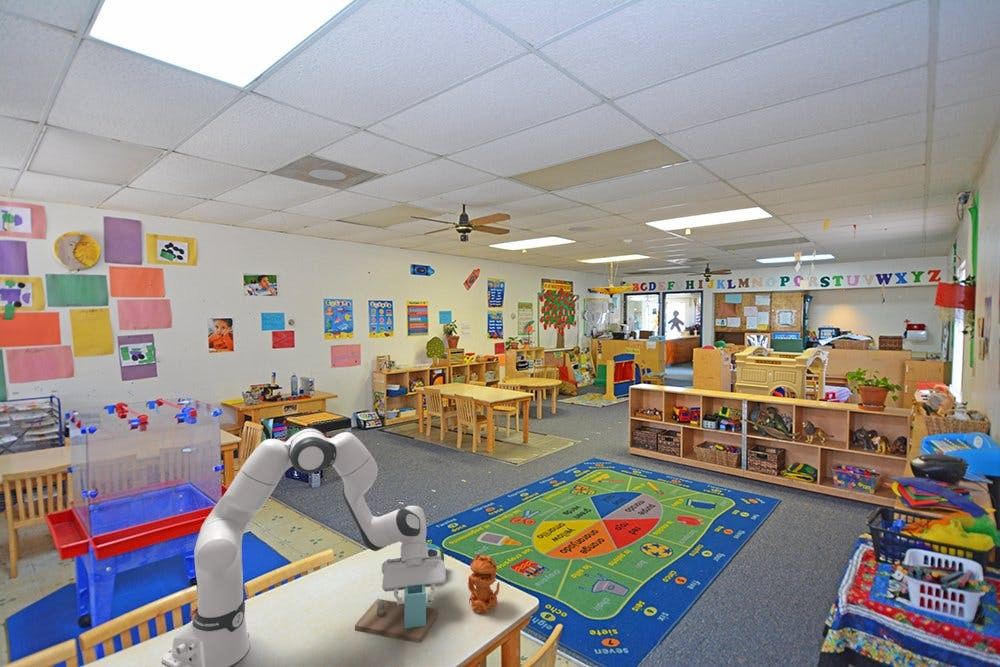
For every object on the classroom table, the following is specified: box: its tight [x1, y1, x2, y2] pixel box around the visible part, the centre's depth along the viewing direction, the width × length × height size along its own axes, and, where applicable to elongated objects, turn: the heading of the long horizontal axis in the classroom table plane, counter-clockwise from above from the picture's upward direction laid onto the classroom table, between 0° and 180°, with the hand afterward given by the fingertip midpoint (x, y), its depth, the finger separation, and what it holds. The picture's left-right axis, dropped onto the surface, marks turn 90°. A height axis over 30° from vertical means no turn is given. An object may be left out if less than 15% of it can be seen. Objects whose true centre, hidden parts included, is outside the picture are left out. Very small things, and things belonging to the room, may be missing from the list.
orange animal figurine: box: [467, 554, 500, 613], centre depth 154 cm, size 11×11×18 cm
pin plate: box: [354, 598, 439, 644], centre depth 147 cm, size 22×14×6 cm, turn 76°
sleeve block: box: [403, 585, 427, 628], centre depth 145 cm, size 6×6×10 cm
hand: (415, 603), depth 144 cm, fingers open, 8 cm apart
